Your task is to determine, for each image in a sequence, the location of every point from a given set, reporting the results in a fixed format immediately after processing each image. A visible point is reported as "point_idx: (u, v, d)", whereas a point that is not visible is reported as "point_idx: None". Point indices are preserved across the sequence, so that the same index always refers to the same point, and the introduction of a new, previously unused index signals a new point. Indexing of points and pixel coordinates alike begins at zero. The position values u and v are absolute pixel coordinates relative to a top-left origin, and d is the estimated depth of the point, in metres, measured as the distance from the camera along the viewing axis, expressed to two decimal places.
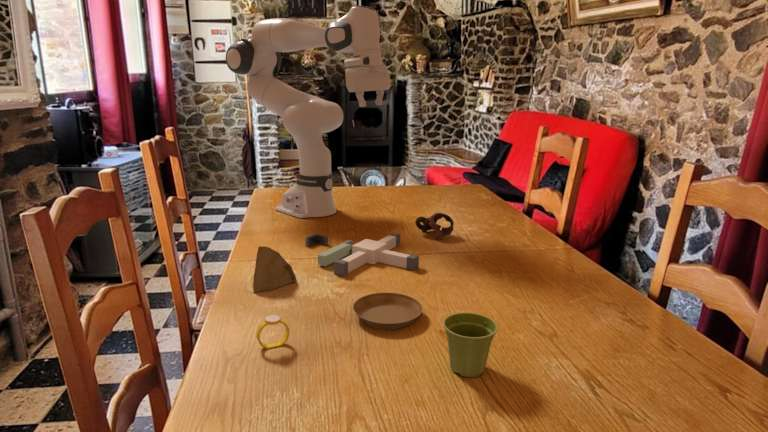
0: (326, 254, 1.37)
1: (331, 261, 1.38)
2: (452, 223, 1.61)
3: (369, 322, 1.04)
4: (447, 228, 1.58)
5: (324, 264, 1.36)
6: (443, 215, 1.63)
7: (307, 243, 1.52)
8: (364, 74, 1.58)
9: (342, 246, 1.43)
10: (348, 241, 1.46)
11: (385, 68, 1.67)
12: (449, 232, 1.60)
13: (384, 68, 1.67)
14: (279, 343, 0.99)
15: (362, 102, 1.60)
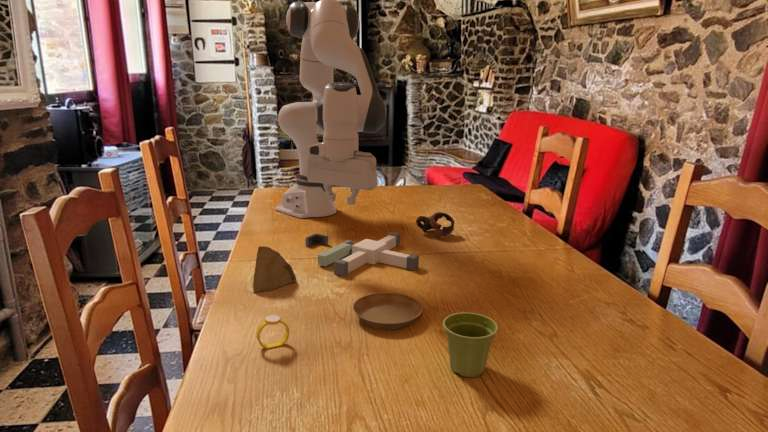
0: (326, 254, 1.37)
1: (331, 261, 1.38)
2: (453, 222, 1.61)
3: (369, 322, 1.04)
4: (448, 227, 1.59)
5: (324, 264, 1.36)
6: (444, 214, 1.63)
7: (307, 243, 1.52)
8: (322, 164, 1.33)
9: (342, 246, 1.43)
10: (348, 241, 1.46)
11: (361, 163, 1.26)
12: (450, 231, 1.60)
13: (359, 163, 1.26)
14: (279, 343, 0.99)
15: None
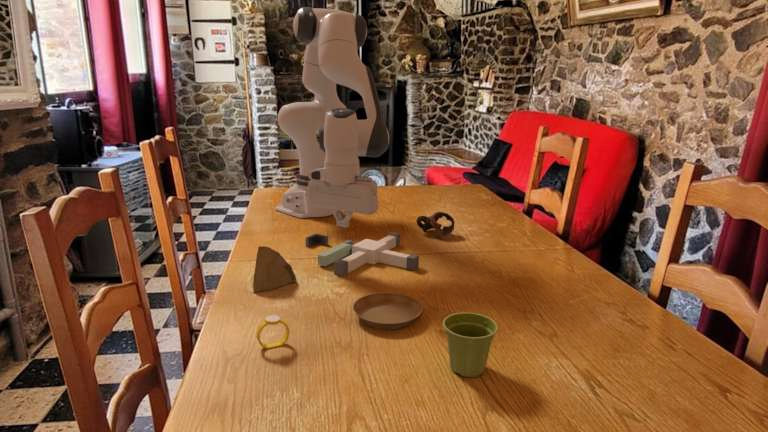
0: (326, 254, 1.37)
1: (331, 261, 1.38)
2: (453, 222, 1.62)
3: (369, 322, 1.04)
4: (448, 227, 1.59)
5: (324, 264, 1.36)
6: (444, 214, 1.64)
7: (307, 243, 1.52)
8: (324, 189, 1.34)
9: (342, 246, 1.43)
10: (348, 241, 1.46)
11: (362, 188, 1.27)
12: (450, 231, 1.61)
13: (360, 187, 1.28)
14: (279, 343, 0.99)
15: None
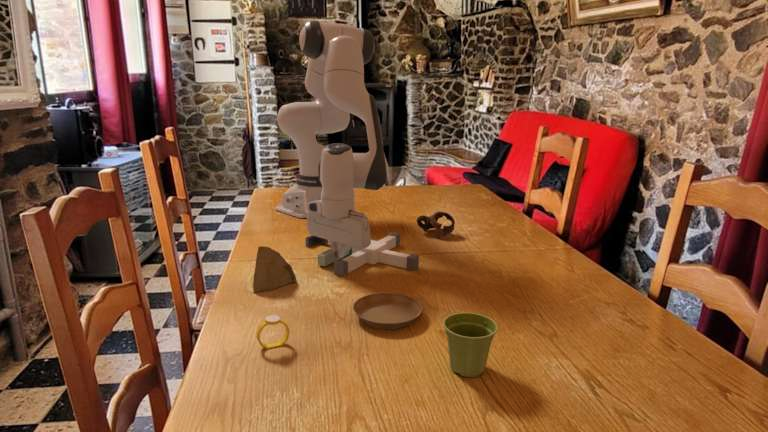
0: (325, 254, 1.37)
1: (331, 261, 1.38)
2: (453, 222, 1.62)
3: (369, 322, 1.04)
4: (448, 227, 1.60)
5: (324, 264, 1.36)
6: (444, 214, 1.64)
7: (307, 243, 1.52)
8: (321, 220, 1.38)
9: None
10: None
11: (354, 223, 1.30)
12: (450, 230, 1.61)
13: (352, 222, 1.30)
14: (279, 343, 0.99)
15: None
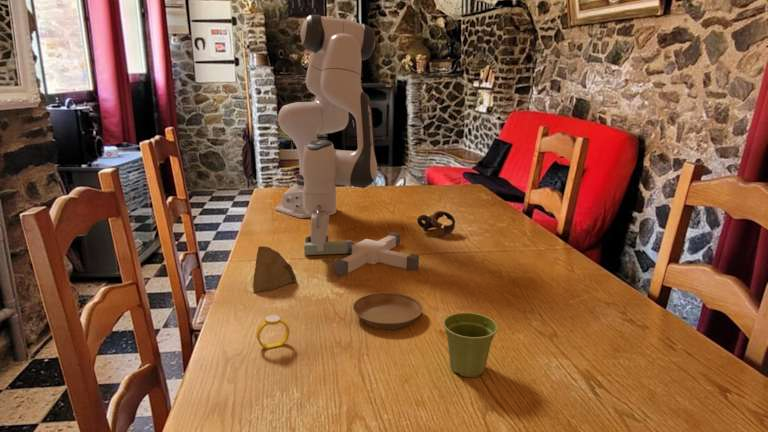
0: (309, 244, 1.44)
1: (314, 252, 1.44)
2: (454, 221, 1.63)
3: (369, 322, 1.04)
4: (449, 226, 1.60)
5: None
6: (444, 213, 1.65)
7: None
8: None
9: (335, 243, 1.45)
10: (348, 241, 1.46)
11: (311, 217, 1.33)
12: (451, 230, 1.62)
13: None
14: (279, 343, 0.99)
15: None
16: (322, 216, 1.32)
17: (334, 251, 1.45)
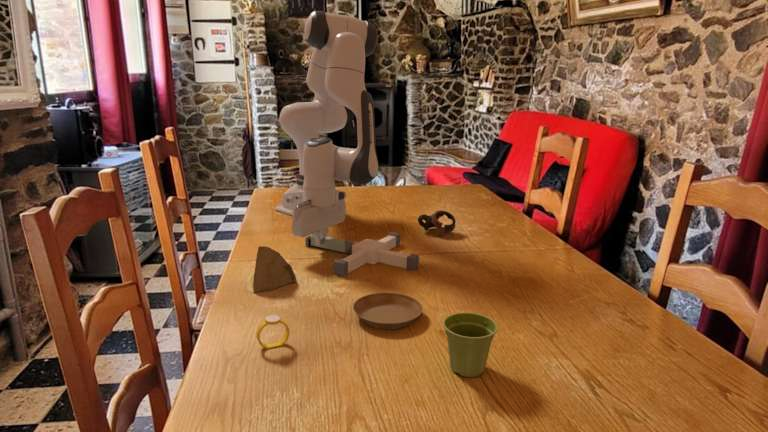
0: None
1: (318, 245, 1.50)
2: (454, 220, 1.63)
3: (369, 322, 1.04)
4: (449, 225, 1.61)
5: None
6: (445, 213, 1.65)
7: (307, 243, 1.52)
8: None
9: (337, 240, 1.48)
10: (348, 241, 1.46)
11: None
12: (451, 229, 1.62)
13: None
14: (279, 343, 0.99)
15: None
16: (303, 210, 1.38)
17: (334, 248, 1.48)
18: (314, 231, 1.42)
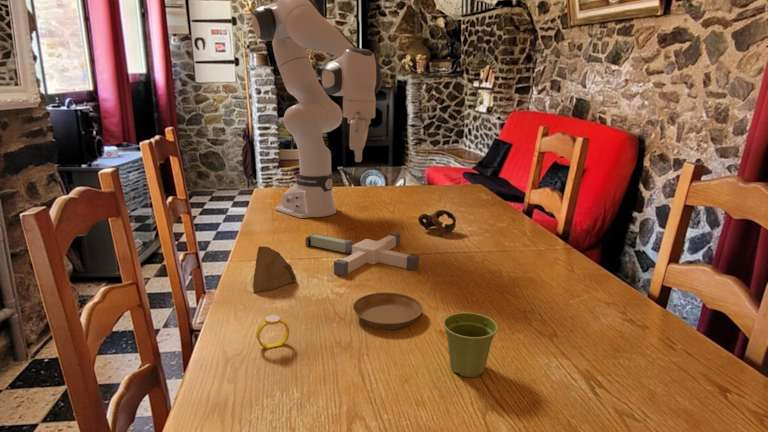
0: (316, 236, 1.51)
1: (318, 245, 1.50)
2: (454, 220, 1.64)
3: (369, 322, 1.04)
4: (450, 225, 1.62)
5: None
6: (445, 212, 1.66)
7: (307, 243, 1.52)
8: None
9: (337, 240, 1.48)
10: (348, 241, 1.46)
11: None
12: (452, 229, 1.63)
13: None
14: (279, 343, 0.99)
15: None
16: (361, 121, 1.33)
17: (334, 248, 1.48)
18: None
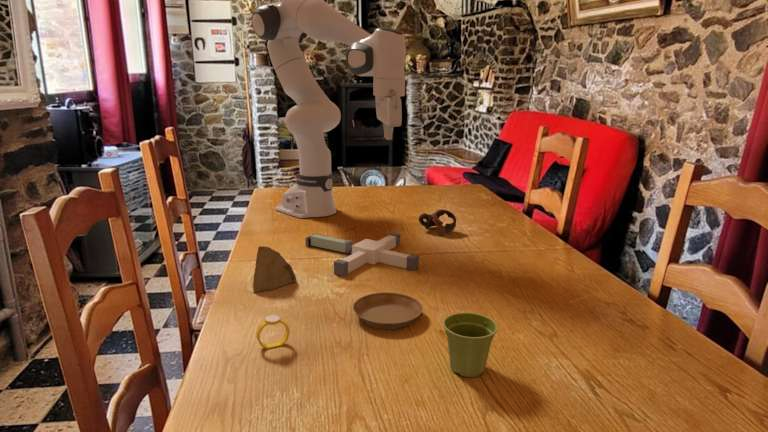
0: (316, 236, 1.51)
1: (318, 245, 1.50)
2: (455, 219, 1.65)
3: (369, 322, 1.04)
4: (450, 224, 1.62)
5: None
6: (446, 211, 1.66)
7: (307, 243, 1.52)
8: (380, 103, 1.49)
9: (337, 240, 1.48)
10: (348, 241, 1.46)
11: (387, 100, 1.37)
12: (452, 228, 1.64)
13: (386, 100, 1.38)
14: (279, 343, 0.99)
15: None
16: (398, 98, 1.37)
17: (334, 248, 1.48)
18: None
